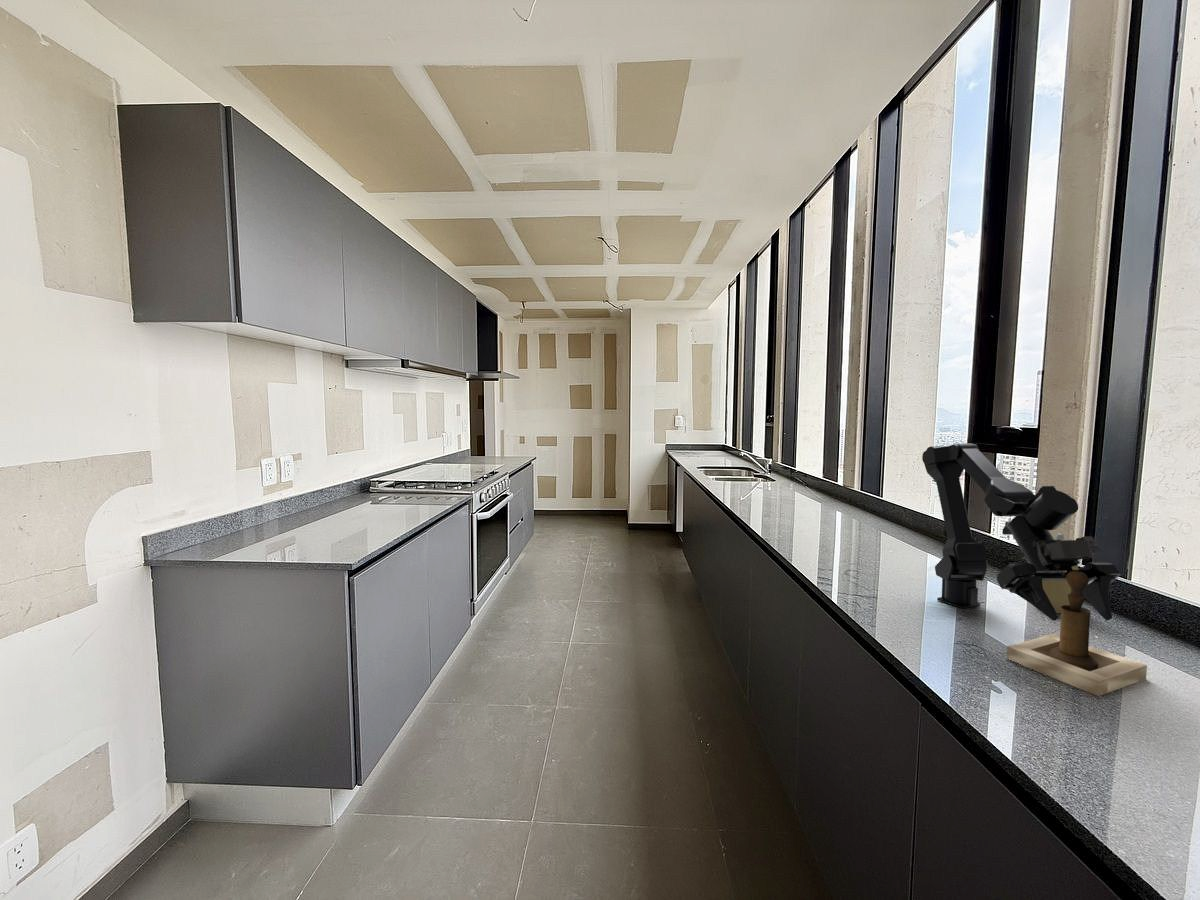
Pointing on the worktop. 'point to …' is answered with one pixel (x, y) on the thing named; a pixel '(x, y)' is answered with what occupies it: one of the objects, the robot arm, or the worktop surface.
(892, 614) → the worktop surface
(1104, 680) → the frame
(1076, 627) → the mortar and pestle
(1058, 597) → the squeeze bottle
